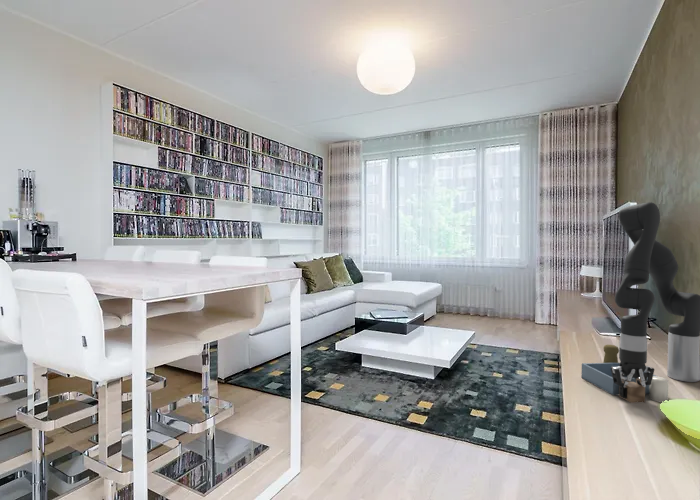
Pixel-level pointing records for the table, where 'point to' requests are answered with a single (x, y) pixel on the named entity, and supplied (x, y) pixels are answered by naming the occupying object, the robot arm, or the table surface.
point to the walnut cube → (634, 393)
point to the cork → (611, 354)
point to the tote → (604, 376)
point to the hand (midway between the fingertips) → (631, 397)
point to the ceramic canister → (658, 389)
